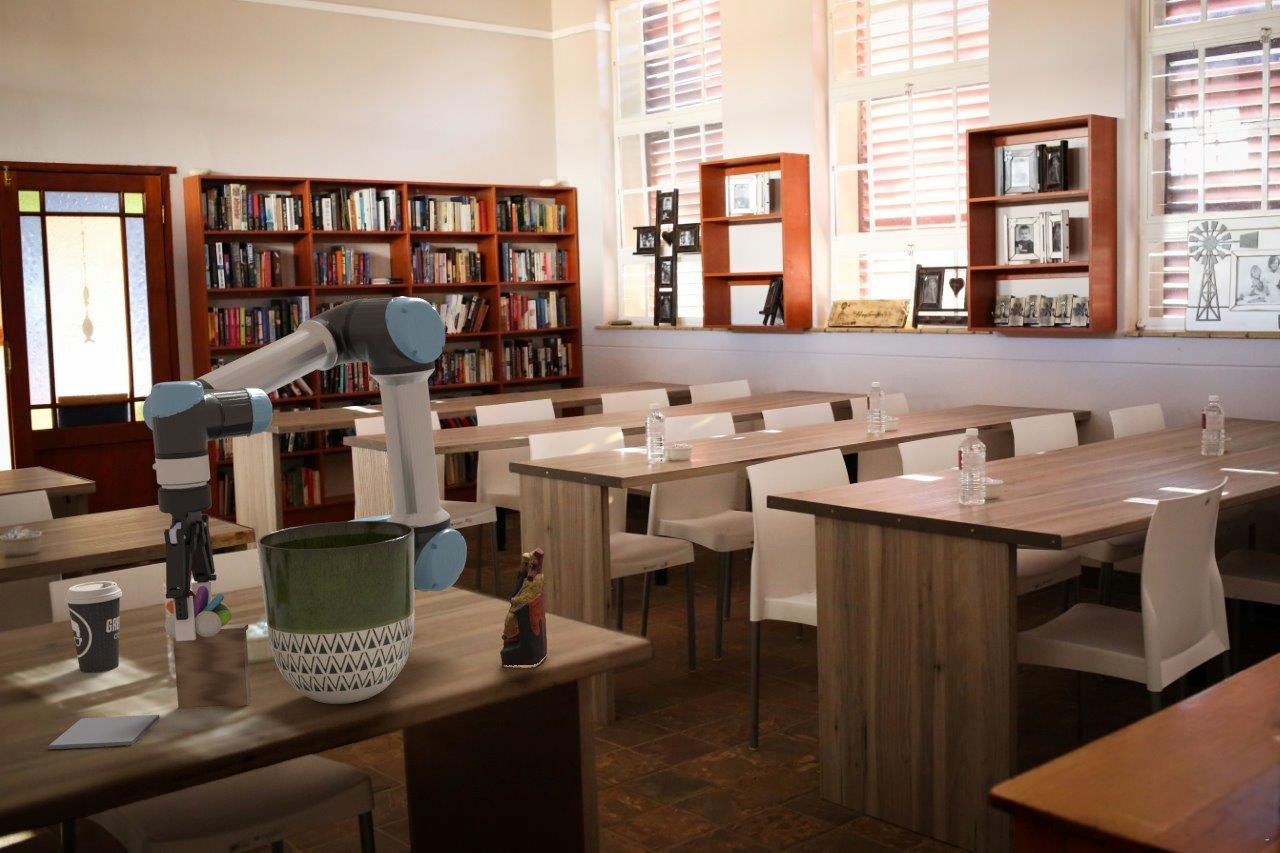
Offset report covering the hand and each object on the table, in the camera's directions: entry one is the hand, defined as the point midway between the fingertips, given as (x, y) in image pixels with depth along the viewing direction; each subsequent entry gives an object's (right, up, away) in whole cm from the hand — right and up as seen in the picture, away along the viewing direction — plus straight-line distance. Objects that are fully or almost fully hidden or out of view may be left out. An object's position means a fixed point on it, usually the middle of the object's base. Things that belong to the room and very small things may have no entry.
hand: (195, 631), depth 191 cm
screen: (-1, -14, +12) cm, 18 cm away
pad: (-13, -15, 0) cm, 21 cm away
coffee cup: (-30, -13, +36) cm, 49 cm away
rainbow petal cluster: (+1, 0, 0) cm, 1 cm away
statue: (+47, -10, +30) cm, 57 cm away
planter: (+20, -13, +13) cm, 27 cm away
